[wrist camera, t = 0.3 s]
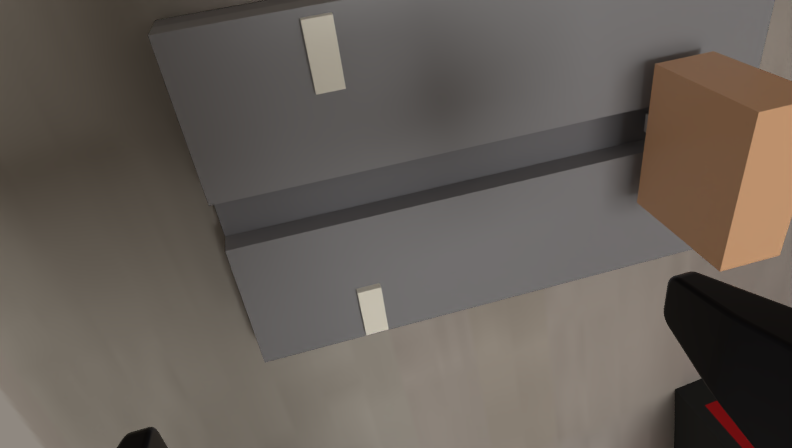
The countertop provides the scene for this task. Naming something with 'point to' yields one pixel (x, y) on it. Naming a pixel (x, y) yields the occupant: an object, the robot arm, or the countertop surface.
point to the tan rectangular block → (719, 157)
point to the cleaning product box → (704, 420)
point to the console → (427, 147)
